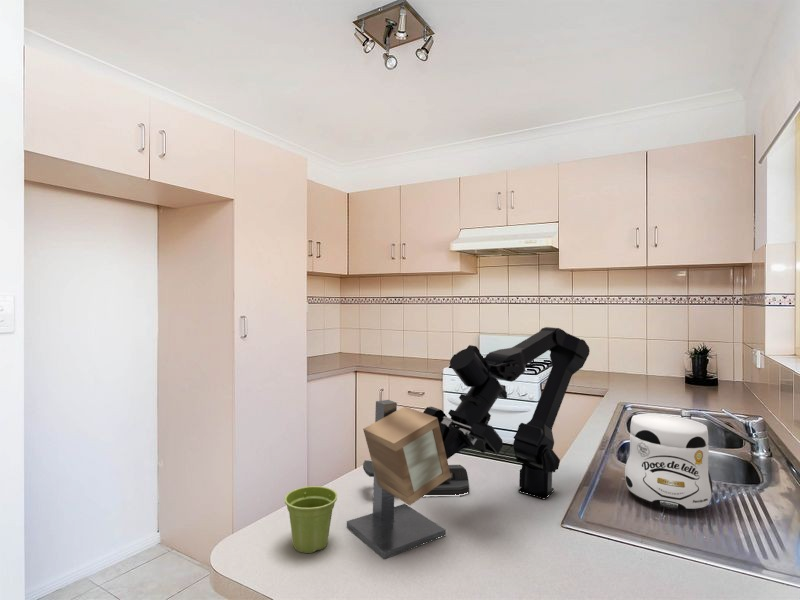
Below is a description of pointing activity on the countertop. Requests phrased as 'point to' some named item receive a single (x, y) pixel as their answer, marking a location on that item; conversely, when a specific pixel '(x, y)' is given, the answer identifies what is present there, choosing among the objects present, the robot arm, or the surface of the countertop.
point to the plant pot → (310, 516)
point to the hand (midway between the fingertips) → (436, 463)
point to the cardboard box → (407, 454)
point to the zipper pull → (449, 487)
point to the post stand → (392, 516)
